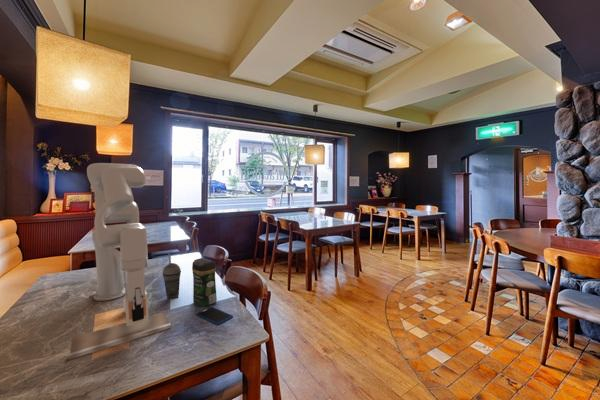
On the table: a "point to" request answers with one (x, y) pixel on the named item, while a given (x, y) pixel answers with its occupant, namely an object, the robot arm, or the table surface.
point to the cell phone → (214, 315)
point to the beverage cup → (172, 280)
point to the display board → (116, 335)
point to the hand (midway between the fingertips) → (137, 316)
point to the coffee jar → (204, 282)
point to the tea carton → (130, 306)
